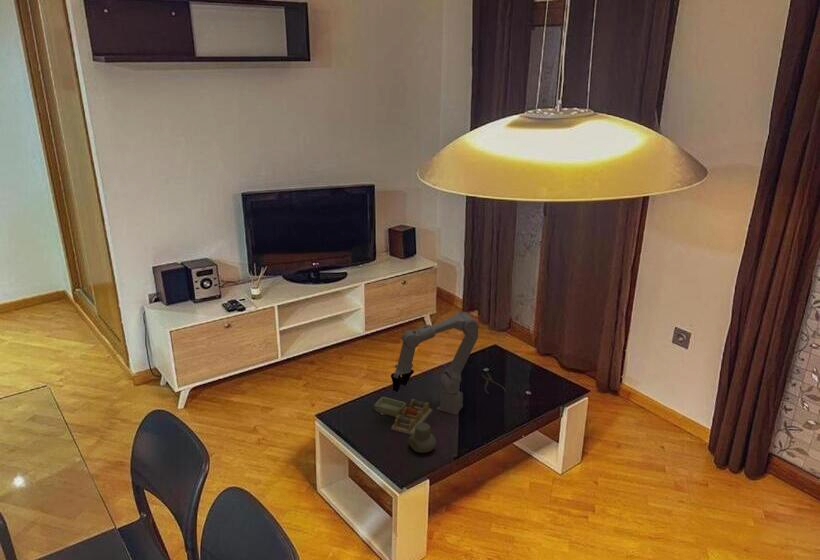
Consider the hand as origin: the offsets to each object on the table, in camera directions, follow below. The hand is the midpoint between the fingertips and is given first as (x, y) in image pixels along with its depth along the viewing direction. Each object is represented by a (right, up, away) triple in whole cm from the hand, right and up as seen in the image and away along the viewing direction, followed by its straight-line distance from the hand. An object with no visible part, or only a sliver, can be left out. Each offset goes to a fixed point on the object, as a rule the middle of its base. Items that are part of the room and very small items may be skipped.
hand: (399, 387), depth 260 cm
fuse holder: (+5, -14, +2) cm, 15 cm away
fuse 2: (+8, -9, +7) cm, 14 cm away
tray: (-4, -11, +9) cm, 15 cm away
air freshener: (+9, -21, -16) cm, 28 cm away
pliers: (+42, -4, +32) cm, 52 cm away
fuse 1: (+2, -14, -5) cm, 15 cm away
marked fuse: (+5, -12, +1) cm, 13 cm away
